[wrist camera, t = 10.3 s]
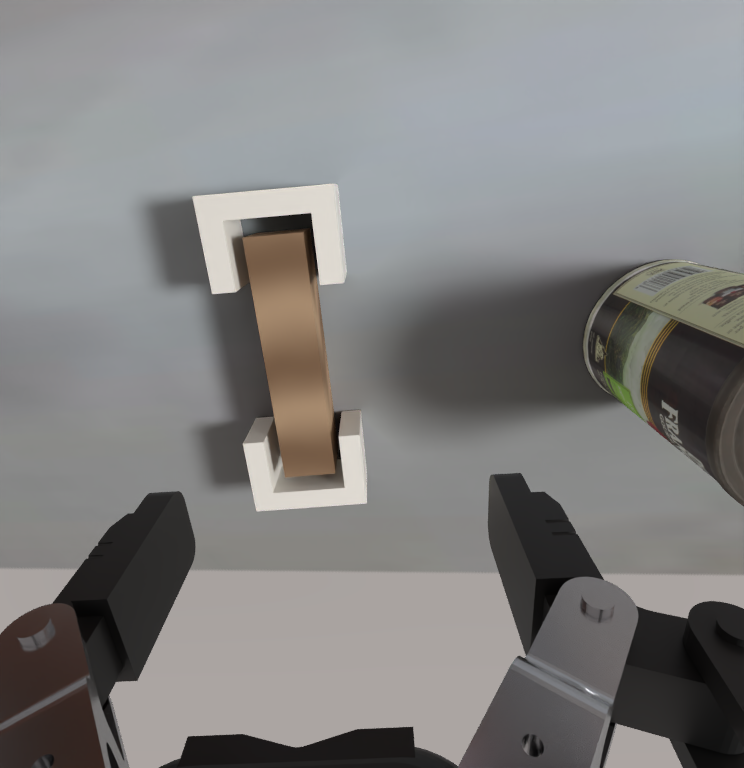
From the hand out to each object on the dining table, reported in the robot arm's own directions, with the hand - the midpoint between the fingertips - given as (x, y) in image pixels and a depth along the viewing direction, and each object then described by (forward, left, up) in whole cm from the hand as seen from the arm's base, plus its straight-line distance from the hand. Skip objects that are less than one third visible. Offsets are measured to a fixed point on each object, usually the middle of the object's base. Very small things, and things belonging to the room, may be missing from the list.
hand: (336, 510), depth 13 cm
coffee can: (+3, +21, -22) cm, 31 cm away
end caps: (+2, -4, -22) cm, 23 cm away
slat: (+2, -4, -22) cm, 23 cm away
